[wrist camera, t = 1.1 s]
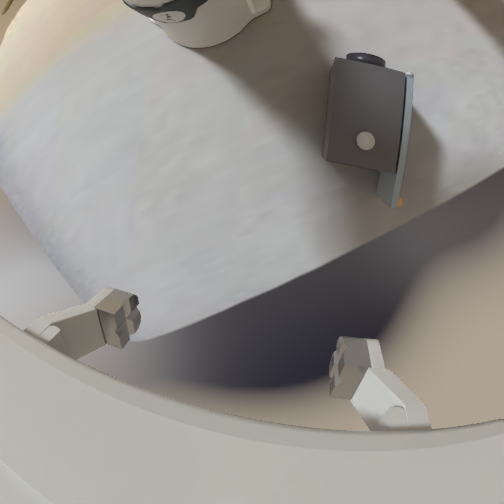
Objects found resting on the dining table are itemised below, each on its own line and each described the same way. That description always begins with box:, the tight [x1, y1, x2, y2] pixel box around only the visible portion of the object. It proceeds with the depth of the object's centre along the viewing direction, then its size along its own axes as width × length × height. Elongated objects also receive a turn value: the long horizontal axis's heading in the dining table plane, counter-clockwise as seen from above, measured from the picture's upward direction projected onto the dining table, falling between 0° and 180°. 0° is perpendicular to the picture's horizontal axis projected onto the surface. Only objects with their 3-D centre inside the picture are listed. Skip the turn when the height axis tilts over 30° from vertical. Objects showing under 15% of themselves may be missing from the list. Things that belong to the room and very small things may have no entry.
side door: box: [376, 72, 414, 209], centre depth 30 cm, size 16×2×8 cm, turn 175°
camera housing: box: [322, 53, 405, 174], centre depth 29 cm, size 14×8×9 cm, turn 175°
